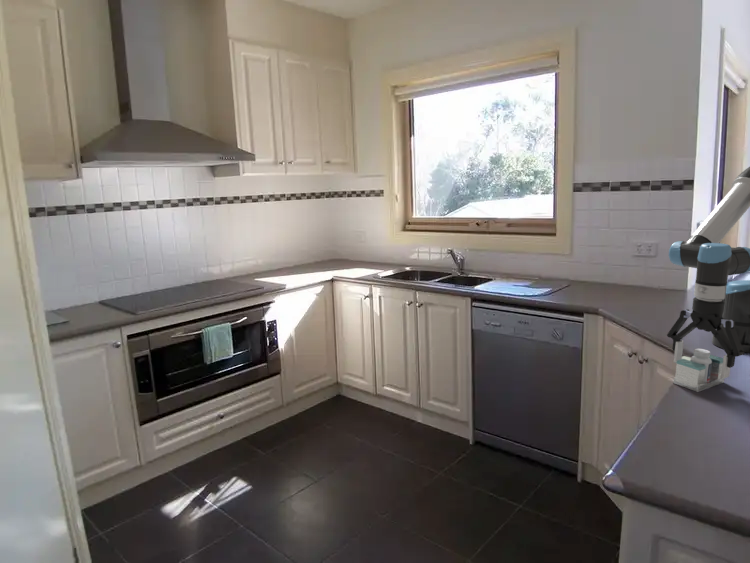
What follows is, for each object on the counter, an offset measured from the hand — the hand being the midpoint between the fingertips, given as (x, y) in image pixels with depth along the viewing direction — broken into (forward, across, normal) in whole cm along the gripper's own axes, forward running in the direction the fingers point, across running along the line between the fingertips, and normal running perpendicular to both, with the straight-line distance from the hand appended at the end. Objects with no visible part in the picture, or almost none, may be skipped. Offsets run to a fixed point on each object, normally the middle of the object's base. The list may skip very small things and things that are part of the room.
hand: (700, 369), depth 151 cm
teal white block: (+4, 0, 0) cm, 4 cm away
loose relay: (+4, -7, +6) cm, 10 cm away
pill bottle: (+3, 0, 0) cm, 3 cm away
